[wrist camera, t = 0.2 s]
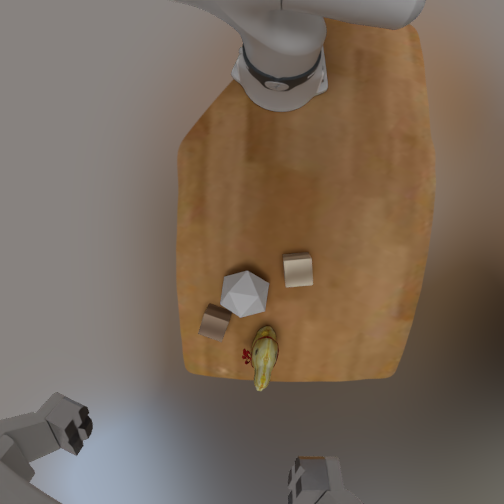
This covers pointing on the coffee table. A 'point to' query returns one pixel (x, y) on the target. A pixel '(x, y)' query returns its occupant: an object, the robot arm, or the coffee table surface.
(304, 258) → the beech block
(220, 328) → the walnut block
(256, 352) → the chocolate bunny
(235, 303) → the die
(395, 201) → the coffee table surface
